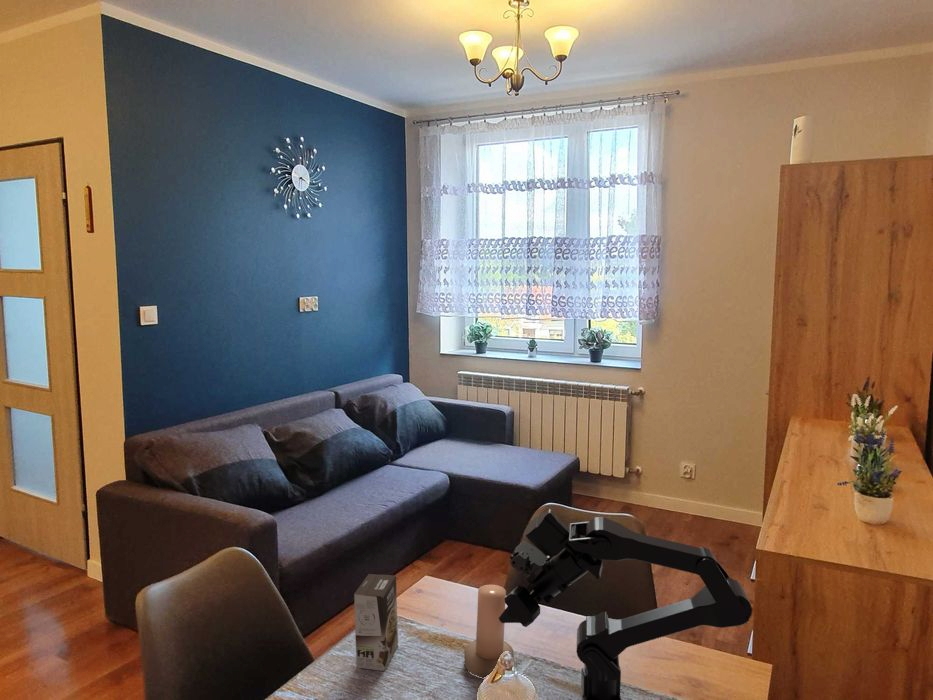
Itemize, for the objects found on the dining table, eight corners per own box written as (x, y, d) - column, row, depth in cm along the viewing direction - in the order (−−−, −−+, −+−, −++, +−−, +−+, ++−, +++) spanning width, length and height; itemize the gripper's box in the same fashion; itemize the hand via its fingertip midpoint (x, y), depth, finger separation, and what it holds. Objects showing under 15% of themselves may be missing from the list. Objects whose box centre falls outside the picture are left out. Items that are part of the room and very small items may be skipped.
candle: (502, 643, 136) (504, 584, 135) (504, 660, 131) (507, 598, 129) (475, 643, 136) (477, 584, 135) (476, 659, 131) (478, 598, 129)
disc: (511, 650, 139) (511, 637, 139) (515, 681, 129) (515, 667, 129) (464, 650, 139) (464, 637, 139) (464, 681, 129) (464, 667, 129)
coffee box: (385, 671, 132) (383, 597, 130) (355, 668, 133) (352, 594, 131) (399, 645, 141) (397, 574, 138) (370, 642, 142) (368, 572, 140)
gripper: (554, 516, 133) (506, 556, 140) (514, 554, 117) (461, 596, 124) (591, 562, 130) (540, 600, 137) (555, 606, 114) (499, 647, 121)
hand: (511, 609), depth 130 cm, fingers open, 9 cm apart
